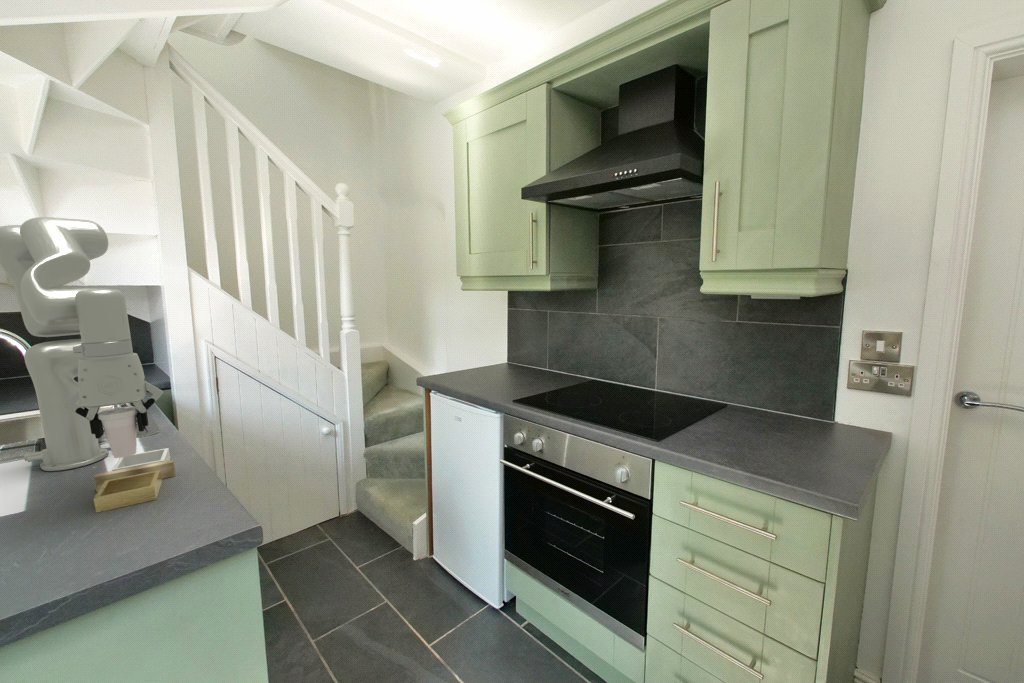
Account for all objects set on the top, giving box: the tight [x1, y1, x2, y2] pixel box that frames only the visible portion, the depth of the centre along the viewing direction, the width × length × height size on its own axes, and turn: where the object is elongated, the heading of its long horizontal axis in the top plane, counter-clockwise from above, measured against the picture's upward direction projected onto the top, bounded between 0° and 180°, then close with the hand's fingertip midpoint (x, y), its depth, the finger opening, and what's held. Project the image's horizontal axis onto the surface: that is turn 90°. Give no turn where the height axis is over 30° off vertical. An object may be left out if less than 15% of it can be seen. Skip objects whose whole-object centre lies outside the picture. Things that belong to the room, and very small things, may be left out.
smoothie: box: [98, 405, 138, 459], centre depth 94 cm, size 6×6×14 cm
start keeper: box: [111, 447, 171, 471], centre depth 109 cm, size 10×10×3 cm
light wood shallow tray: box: [93, 470, 163, 514], centre depth 96 cm, size 10×10×3 cm
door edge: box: [93, 459, 177, 493], centre depth 103 cm, size 14×2×4 cm, turn 122°
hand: (121, 432), depth 94 cm, fingers closed on smoothie, 6 cm apart
